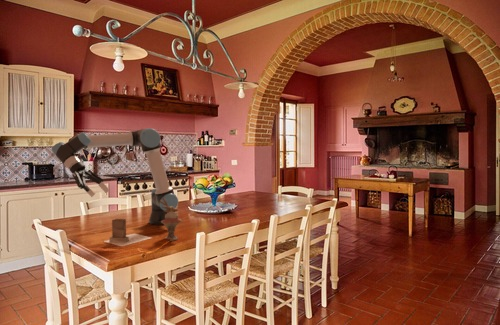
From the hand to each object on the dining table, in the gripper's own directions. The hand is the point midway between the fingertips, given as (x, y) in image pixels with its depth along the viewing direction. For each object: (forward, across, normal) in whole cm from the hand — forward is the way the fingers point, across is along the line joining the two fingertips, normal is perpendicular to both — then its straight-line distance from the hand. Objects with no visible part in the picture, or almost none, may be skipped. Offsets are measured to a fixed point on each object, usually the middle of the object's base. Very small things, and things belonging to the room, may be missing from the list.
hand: (101, 193), depth 191 cm
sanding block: (+27, +4, -9) cm, 28 cm away
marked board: (+29, -1, -8) cm, 30 cm away
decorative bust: (+45, -10, +7) cm, 47 cm away
